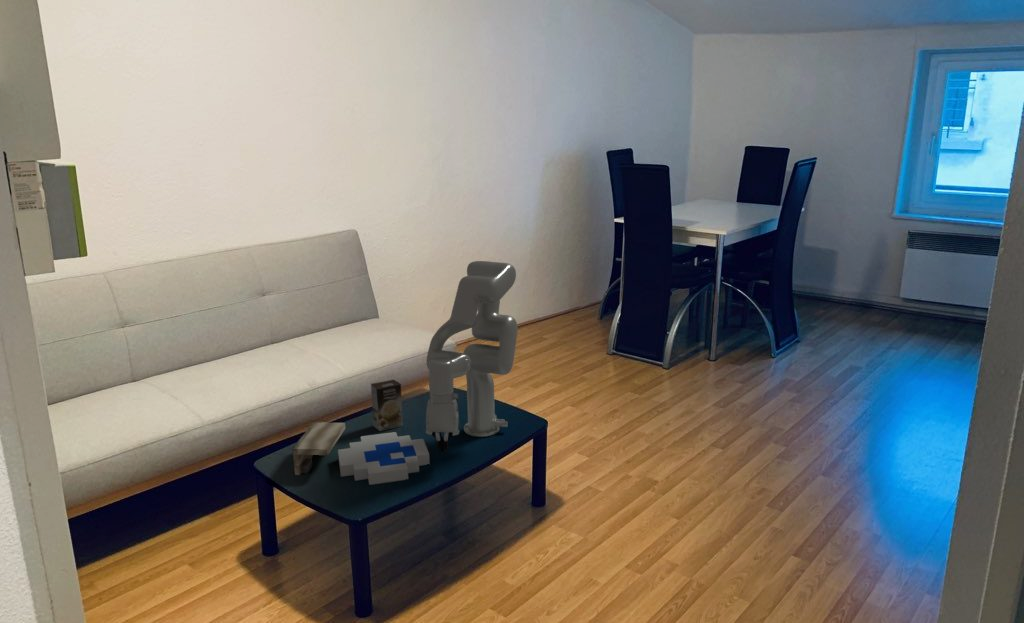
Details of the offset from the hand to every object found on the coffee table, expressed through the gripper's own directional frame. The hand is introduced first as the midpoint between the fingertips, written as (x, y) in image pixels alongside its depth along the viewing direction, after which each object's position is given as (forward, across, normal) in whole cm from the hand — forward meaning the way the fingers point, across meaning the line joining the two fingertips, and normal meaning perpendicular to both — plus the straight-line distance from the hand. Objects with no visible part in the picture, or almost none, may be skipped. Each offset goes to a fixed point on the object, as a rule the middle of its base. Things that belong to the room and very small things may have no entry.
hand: (443, 451), depth 251 cm
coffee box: (+4, +25, -29) cm, 38 cm away
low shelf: (+5, +40, -1) cm, 41 cm away
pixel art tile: (+6, +20, -1) cm, 20 cm away
